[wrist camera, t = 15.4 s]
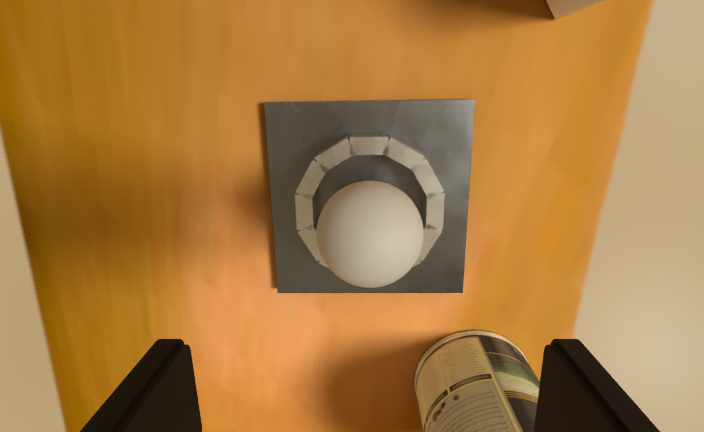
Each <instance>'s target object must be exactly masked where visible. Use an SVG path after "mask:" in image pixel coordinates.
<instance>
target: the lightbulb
mask: <svg viewBox="0 0 704 432" xmlns="http://www.w3.org/2000/svg"><path fill="white" fill-rule="evenodd" d="M423 236H424V230H423V222H422V219H421V216H420V214H419V211H418V209H417V208H416V206H415V204H414V203H413V201H412V200H411V199H410V198H409V197H408V196H407V195H406V194H405V193H404V192H403V191H401V190H400V189H398V188H397V187H395V186H392V185H390V184H388V183H384V182H379V181H361V182H356V183H353V184H350V185H348V186H345V187H344V188H342V189H340V190H339V191H337V192H336V193H335V194H334V195H333V196H332V197H331V198H330V199H329V200H328V201H327V203H326V204H325V206H324V207H323V210H322V212H321V214H320V216H319V219H318V224H317V243H318V248H319V252H320V254H321V256H322V258H323V261H324V262H325V263H326V265H327V266H328V268H329V269H330V270H331V271H332V272H333V273H334V274H335V275H336V276H337V277H339V278H340V279H342V280H344V281H345V282H347V283H350V284H352V285H355V286H359V287H365V288H375V287H382V286H385V285H388V284H391V283H393V282H395V281H397V280H399V279H400V278H401V277H403V276H404V275H405V274H406V273H407V272H408V271H409V270H410V269H411V268H412V266H413V265H414V264H415V263H416V261H417V259H418V257H419V255H420V252H421V248H422V245H423Z"/></svg>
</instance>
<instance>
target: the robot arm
mask: <svg viewBox="0 0 704 432" xmlns="http://www.w3.org/2000/svg"><path fill="white" fill-rule="evenodd" d="M80 432H202V424H201V417H200V410H199V404H198V397H197V390H196V383H195V377H194V370H193V363H192V356H191V350H190V347H189V345H184V342H183V340H181V339H159V340H157V341H156V342H155V343H154V344H153V346H152V347H151V348H150V349H149V350H148V352H147V353H146V354H145V355H144V356H143V357H142V359H141V360H140V361H139V362H138V363H137V365H136V366H135V367H134V368H133V369H132V371H131V372H130V373H129V374H128V375H127V376H126V378H125V379H124V380H123V381H122V382H121V384H120V385H119V386H118V387H117V388H116V389H115V391H114V392H113V393H112V394H111V395H110V397H109V398H108V399H107V400H106V401H105V403H104V404H103V405H102V406H101V407H100V408H99V410H98V411H97V412H96V413H95V414H94V416H93V417H92V418H91V419H90V420H89V421H88V423H87V424H86V425H85V426H84V427H83V429H82V430H81V431H80ZM534 432H660V431H659V430H658V429H657V428H656V427H655V425H654V424H653V423H652V422H651V421H650V420H649V419H648V418H647V416H646V415H645V414H644V413H643V412H642V411H641V410H640V408H639V407H638V406H637V405H636V404H635V403H634V402H633V400H632V399H631V398H630V397H629V396H628V395H627V394H626V392H625V391H624V390H623V389H622V388H621V387H620V386H619V385H618V384H617V382H616V381H615V380H614V379H613V378H612V377H611V375H610V374H609V373H608V372H607V371H606V370H605V369H604V368H603V367H602V365H601V364H600V363H599V362H598V361H597V360H596V358H595V357H594V356H593V355H592V354H591V353H590V352H589V350H587V348H586V347H585V346H584V345H583V344H582V343H581V342H580V341H579V340H578V339H554V340H553V341H552V342H551V345H546V346H545V349H544V356H543V363H542V371H541V379H540V386H539V394H538V402H537V409H536V417H535V425H534Z"/></svg>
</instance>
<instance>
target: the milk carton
mask: <svg viewBox="0 0 704 432" xmlns="http://www.w3.org/2000/svg"><path fill="white" fill-rule="evenodd" d="M601 1H604V0H546V2H547V4H548V6H549V8H550V10H551V12H552V14H553V16H554V18H555V19H560V18H562V17H565V16H567V15H570V14H572V13H574V12H577V11H579V10H582V9H584V8H587V7H589V6H591V5H594V4H596V3H599V2H601Z"/></svg>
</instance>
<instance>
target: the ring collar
mask: <svg viewBox="0 0 704 432" xmlns="http://www.w3.org/2000/svg"><path fill="white" fill-rule="evenodd" d="M474 107H475V99H462V100H399V101H336V102H273V103H264V109H265V123H266V137H267V151H268V165H269V179H270V193H271V207H272V220H273V234H274V248H275V262H276V276H277V290H278V293H463V278H464V263H465V247H466V231H467V216H468V200H469V185H470V169H471V153H472V138H473V122H474ZM361 181H379V182H384V183H388V184H390V185H392V186H395V187H397V188H398V189H400V190H401V191H403V192H404V193H405V194H406V195H407V196H408V197H409V198H410V199H411V200H412V201H413V203H414V204H415V206H416V208H417V209H418V211H419V214H420V216H421V219H422V222H423V230H424V236H423V245H422V248H421V252H420V255H419V257H418V259H417V261H416V263H415V264H414V265H413V266H412V268H411V269H410V270H409V271H408V272H407V273H406V274H405V275H404V276H403V277H401V278H400V279H399V280H397V281H395V282H393V283H391V284H388V285H385V286H382V287H375V288H365V287H359V286H355V285H352V284H350V283H347V282H345V281H344V280H342V279H340V278H339V277H337V276H336V275H335V274H334V273H333V272H332V271H331V270H330V269H329V268H328V266H327V265H326V263H325V262H324V261H323V258H322V256H321V254H320V252H319V248H318V243H317V224H318V219H319V216H320V214H321V212H322V210H323V207H324V206H325V204H326V203H327V201H328V200H329V199H330V198H331V197H332V196H333V195H334V194H335V193H336V192H337V191H339V190H340V189H342V188H344V187H345V186H348V185H350V184H353V183H356V182H361Z"/></svg>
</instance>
